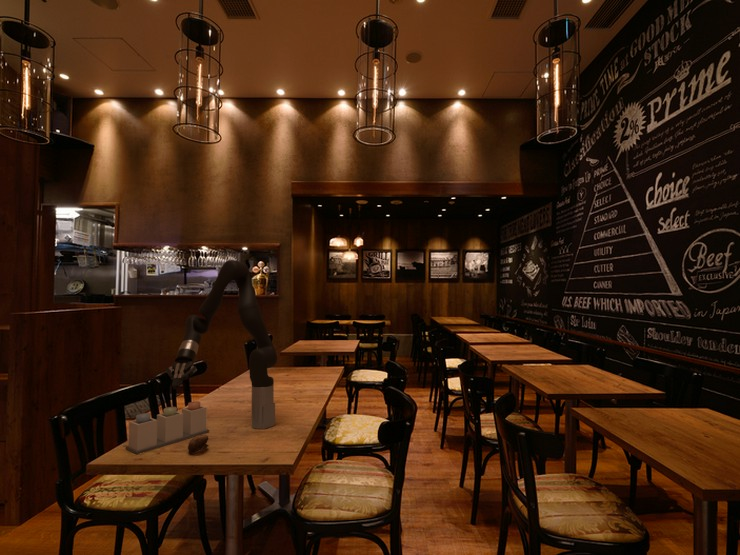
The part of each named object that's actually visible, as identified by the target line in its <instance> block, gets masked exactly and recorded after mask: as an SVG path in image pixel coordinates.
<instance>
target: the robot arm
mask: <svg viewBox="0 0 740 555" xmlns="http://www.w3.org/2000/svg"><path fill="white" fill-rule="evenodd" d="M251 278H252V277H251V273H250V270H249V267H248V265H247V264H246V263H245V262H243V261H239V260H234V259H229V260H226V261H225V262H224V263H223V265H222V266H221V268H220V270H219V272H218V274H217V277H216V279H215V281H214V283H213V285H212V288H211V289H210V291H209V293H208V294H207V295H206V298H205V300H204V301H203V303H201V305H200V307H199V309H198V312H199V314H200V315H201V316H203V317H201V316H199V315H197V314H190V315H188V317H187V318H186V320H185V324H184V336H183V338H182V342H181V344H180V345H179V348H178V351H177V354H176V356H175V359H174V362H173V363H172V364H171V366H169V367H168V366H167V367H165V370H166V373H167V374H168V377H169V378H170V379H171V381H172V383H171V387H172V389H173V390H178V389H179V388H180V387H181V384H182V382H183V381H184V380H185V381H187V380H188V379H190V377H192V376H193V375H194V374H196V373H197V372H198V369H197V367H196V366H194V363H195V360H196V357H197V354H198V351H199V346H200V344H201V340H202V335H204V334H205V335H206V333H208V331H209V330H210V325H211V323H212V320H213V317H214V316H215V314H216V312H217V311H218V309H219V308H220V307H221V305H222V302H223V299H224V293H225V290H226V288H227V287H228V285H229V284H230V283H231V282H232V281H233V282H234V283H235V284H236V287H237V290H238V301H237V311H238V315H239V319H240V321H241V324H242V326H243V327H244V329H245V330H247V332H248V333H249V334H250V335H251V336H252V338H253V339H254V342H255V343H256V346H257V348H255V349H253V350H252V351H251V352H250V354H249V358H248V359H249V360H248V365H249V366H248V368H249V369H248V370H249V371H248V372H249V379H250V382H251V428H253V429H256V430H257V429H258V430H265V429H268V428H272V427H273V426H275V425H276V402H274V397H275V396H274V394H275V393H274V390H275V389H274V387H275V386H274V385H275V384H274V383H275V382H274V381H275V380H274V377H272V376H270V375H269V372H268V369H270V368H273V367H274V366H276V364H277V363H278V354H277V351H276V349H275V346H274V344H273V342H272V340H271V337H270V335H269V333H268V330H267V326H266V324H265V321H264V318H263V314H262V312H261V308H260V306H259V303H258V300H257V297H256V294H255V290H254V286H253V283H252V279H251ZM173 371H174V374H173Z"/></svg>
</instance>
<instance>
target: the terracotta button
mask: <svg viewBox="0 0 740 555" xmlns="http://www.w3.org/2000/svg"><path fill="white" fill-rule="evenodd" d="M200 406H201V401H199V400H195V401H189V402H188V403H187V408H188V410H190V411H193V410H197V409H200Z"/></svg>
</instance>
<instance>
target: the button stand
mask: <svg viewBox="0 0 740 555" xmlns="http://www.w3.org/2000/svg"><path fill="white" fill-rule="evenodd" d="M207 408H208V407H206V406H203V405H200V409H197V410H193V411H190V410H188V407H184V408H181V412H180V411H177V415H173V416H169V417H165V416H163V413H159V414H156V418H152V417H150V421H149V422H145V423H141V424H137V423H136V419H135V420H131V421H128V445H126V446H125V450H126V451H128V452H130V453H132V454H135V455H141V454H143V452H144V453H146V452H149V451H153V450H156V449H160V448H163V447H167V446H170V445H172V444H176V443H179V442H182V441H187V440H189V439H192V438H194V437H195V436H198V435H206V434H208V433H209V434H210V429H208V428H207V416H208V415H207V413H208V411H207V410H208V409H207ZM140 453H141V454H140Z"/></svg>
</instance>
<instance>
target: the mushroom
mask: <svg viewBox="0 0 740 555" xmlns="http://www.w3.org/2000/svg"><path fill="white" fill-rule="evenodd" d="M208 441H209V436H208V435H207V434H202V435H198V436H195V437H192V438H190V440H189V443H188V445H187V450H188V452H189V453H190V454H191V455H194V454H197V453H199V452H204V451H205V450H206V449H207V448H208V447H210V444H207V443H208Z"/></svg>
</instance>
